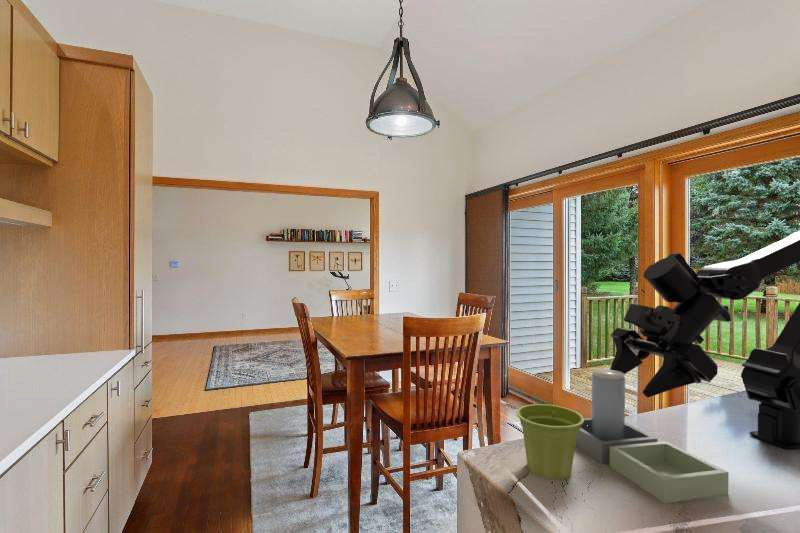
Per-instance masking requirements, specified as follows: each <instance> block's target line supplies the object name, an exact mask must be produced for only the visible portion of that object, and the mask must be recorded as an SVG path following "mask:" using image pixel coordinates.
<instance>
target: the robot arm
mask: <svg viewBox="0 0 800 533" xmlns="http://www.w3.org/2000/svg"><path fill="white" fill-rule="evenodd" d="M798 263H800V230H798V231H795V232H792V233H791V234H789V235H788V236H787V237H785V238H782V239H781V240H779V241H776V242H773V243H771V244H770V245H768V246H766V247H763V248H761V249H759V250H757V251H755V252H752V253H750V254H748V255H746V256H744V257H741V258H738V259H735V260H734V259H733V260H729V261H727V260H726V261H722V262H718V263H714V264H709V265H706V266H702V267H701V268H700V269H699V270H698V271H697V272H696V271H695V270H694V269H693V268H692V266H690V265H689V263H688V262H687V260H686V259H685V257H684V256H683V255H682V254H681V253H670V254H669V255H668V256H667V257H664V258H662V259H660V260H658V261H656V262H654V263H653V264H651V265H648V267H647V268H646V269H645V270H644V272H643V278H644V279H645V280H646V281H647V282H648V284H649V285H650V286H651V287H652V288H653V289H654V290H655V292H657V294H659V296H660V297H661V298H662V299H663V300H664V301H665V302H667V303H676V304H675V305H674V306H673V307H672V308H671V307H669V306H667V305H657V306H656V307H655V308H654V307H651V306H647V305H642V304H636V303H635V304H634V303H630V304H629V306H628V308H627V311H626V313H625V315H624V318H623V321H624V322H625V323H629V324H632V325H634V326H636V327H638V328H639V329H640V330H639V332H640V334H641V335H642V336H643V337H646V338H645V339H644V338H643V337H642V336H641V335H640V334H639V333H638V332H637V331H636V330H635V329H630V328H626V327H616V329H615V330H614V331H613V332H611V334H610V337H611V338H612V342H613V343H614V345H615V350H616V351H615V355H614V357H613V360H612V363H611V366H610V370H616V371H620V372H622V373H624V375H626V374H628V373H629V372H631V371H632V370H634V369H635V368H637V367H639V366H641V365H642V364H643V361H642V360H645V359H647V358H648V357H649V356H650V355H654V356H658V357H662V358H663V360H662V364H661V365H662V366H660V367H659V369H658V370H657V372H656V373H655V374H654V375H653V377H652V378H651V379H650V380H649V381H648V383H647V384H646V386H645V387H644V389H643V391H642V394H643V396H644V397H646V398H651V397H653V396H657V395H659V394H662V393H665V392H668V391H670V390H673V389H678V388H680V387H684V386H688V385H693V384H697V385H698V384H701V383H702V381H704V382H707V383H711V381H713V379H715V377H716V376H717V375H718V369H719V368H718V364H717V363H716V362H715V361H714V360H713V358H711V356H710V355H709V354H708V353H707V352H706V351H705V350H704V349H703V347H702V346H701V344H702V343H703V342H704V341H705V338H703V337H702V334H703V333H704V331H705V330H706V329H707V328H708V327H709V326H710V325H711V324H712V323H713V322H714V321H719V322H726V323H729V322H731V320H732V316H731V314H730V312H729V306H728V305H722V304H721V303H720V302H719V301H718V300H717V299H721V300H732V301H734V300H735V301H739V300H743V299H745V298H747V297H748V296H750V295H751V294H752V293H753V292H755V291H757V290H758V289H759V288H760V286H761V283H762V281H763V280H765V279H766V278H768V277H770V276H773V275H774V274H776V273H778V272H781V271H783V270H785V269H787V268H789V267H791V266H793V265H795V264H798ZM741 367H743V369H742V371H741V374H740V378H741V380H742V384H743V386H744V388H745V392H746V395H747V398H748V399H749V400H753V401H756V402H759V403H758V413H757V430H753V431H749V435H750V436H753V437H755V438H758V439H760V440H763V441H766V442H768V443H770V444H773V445H776V446H779V447H782V448H784V449H787V450H792V449H798V448H799V449H800V302H799V303H798V304H797V305H796V307H795V310H794V311H793V312H792V314H791V316H790V317H789V319H788V320H787V322H786V324H785V326H784V327H783V329H782V330H781V332H780V334H779V335H778V337H777V338H776V340H775V341H774V344H772V346H770V347H768V348H766V349H762V348H757V347H755V348H753V349H752V350H751V352H750V353H749V356H748V358H747V359H746V361H745V362H743V363H742V364H741Z"/></svg>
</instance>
